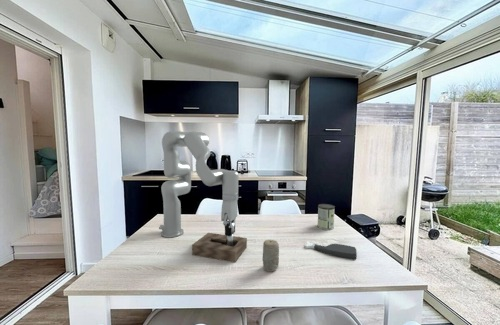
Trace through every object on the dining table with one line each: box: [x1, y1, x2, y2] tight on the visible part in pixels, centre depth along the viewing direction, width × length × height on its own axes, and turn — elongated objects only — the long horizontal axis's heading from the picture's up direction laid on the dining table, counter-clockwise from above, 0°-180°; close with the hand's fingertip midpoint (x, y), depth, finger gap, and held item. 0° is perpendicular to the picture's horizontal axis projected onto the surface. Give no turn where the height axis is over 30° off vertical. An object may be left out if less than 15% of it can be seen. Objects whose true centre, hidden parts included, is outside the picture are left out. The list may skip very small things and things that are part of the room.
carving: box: [262, 239, 280, 272], centre depth 97 cm, size 6×8×12 cm
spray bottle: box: [304, 240, 357, 260], centre depth 116 cm, size 3×11×24 cm
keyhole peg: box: [226, 222, 235, 247], centre depth 111 cm, size 6×6×14 cm
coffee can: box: [317, 203, 336, 231], centre depth 149 cm, size 10×10×14 cm
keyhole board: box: [191, 232, 248, 263], centre depth 113 cm, size 22×16×5 cm
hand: (230, 233), depth 111 cm, fingers closed on keyhole peg, 4 cm apart
